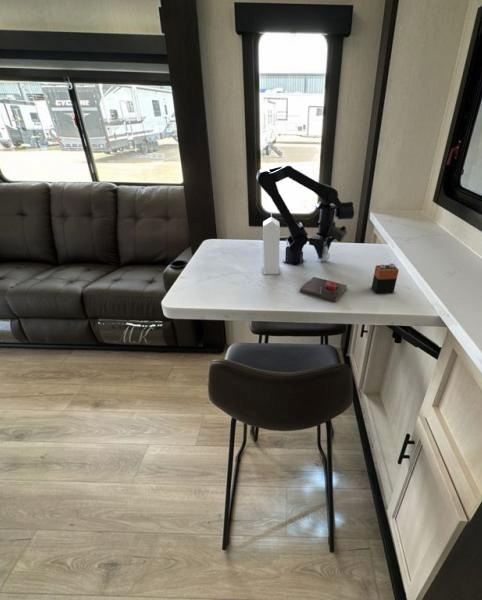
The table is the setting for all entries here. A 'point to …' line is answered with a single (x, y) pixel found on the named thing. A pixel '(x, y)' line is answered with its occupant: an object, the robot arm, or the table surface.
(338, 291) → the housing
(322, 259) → the white bunny figurine
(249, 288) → the table surface
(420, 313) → the table surface
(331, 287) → the button
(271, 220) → the milk
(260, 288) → the table surface
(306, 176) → the robot arm
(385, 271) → the battery
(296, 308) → the table surface
